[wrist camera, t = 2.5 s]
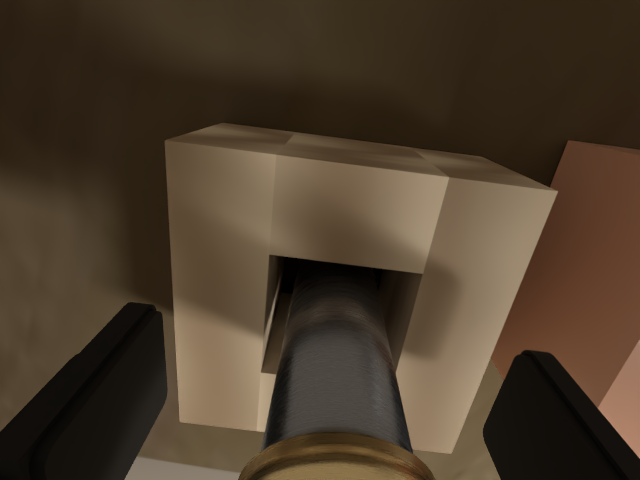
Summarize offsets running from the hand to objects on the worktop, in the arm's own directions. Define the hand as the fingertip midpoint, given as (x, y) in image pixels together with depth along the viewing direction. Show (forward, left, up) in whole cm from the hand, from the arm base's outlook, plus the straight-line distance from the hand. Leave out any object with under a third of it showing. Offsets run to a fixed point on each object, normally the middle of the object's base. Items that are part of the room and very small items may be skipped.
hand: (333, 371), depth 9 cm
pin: (0, 0, -7) cm, 7 cm away
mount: (0, 0, -7) cm, 7 cm away
